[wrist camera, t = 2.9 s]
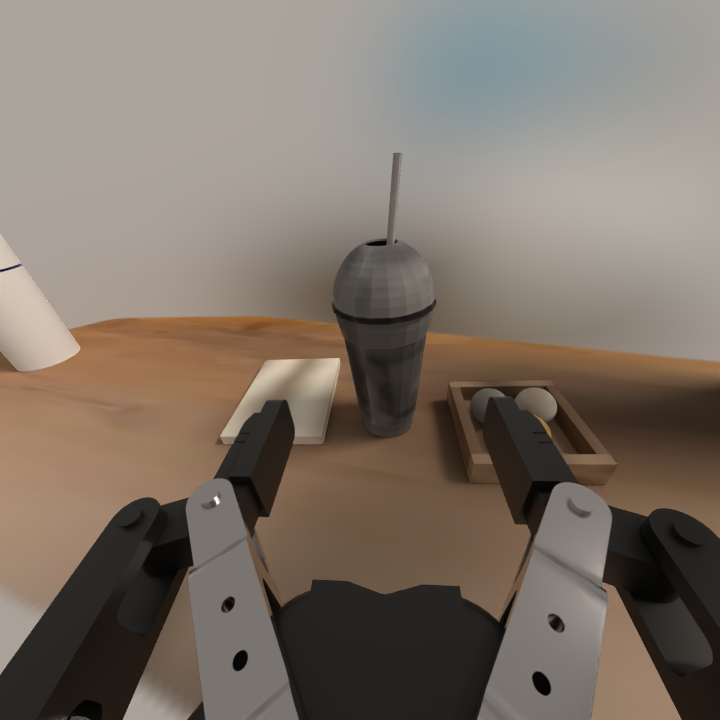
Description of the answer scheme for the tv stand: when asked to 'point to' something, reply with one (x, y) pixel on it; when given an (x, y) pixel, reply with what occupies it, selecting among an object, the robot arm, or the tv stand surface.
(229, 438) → the ash board
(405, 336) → the beverage cup
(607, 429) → the tv stand surface
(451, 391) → the marble tray
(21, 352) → the cylindrical container
